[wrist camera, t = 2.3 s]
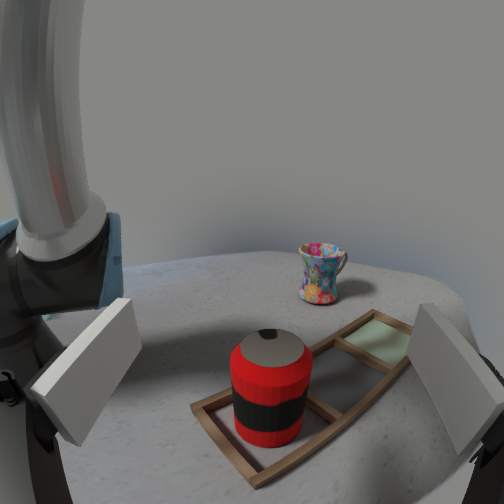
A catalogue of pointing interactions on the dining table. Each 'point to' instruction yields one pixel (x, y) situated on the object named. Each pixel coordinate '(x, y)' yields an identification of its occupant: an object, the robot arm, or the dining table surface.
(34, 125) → the robot arm
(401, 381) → the dining table surface
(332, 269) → the mug
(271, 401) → the soda can
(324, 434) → the frame
